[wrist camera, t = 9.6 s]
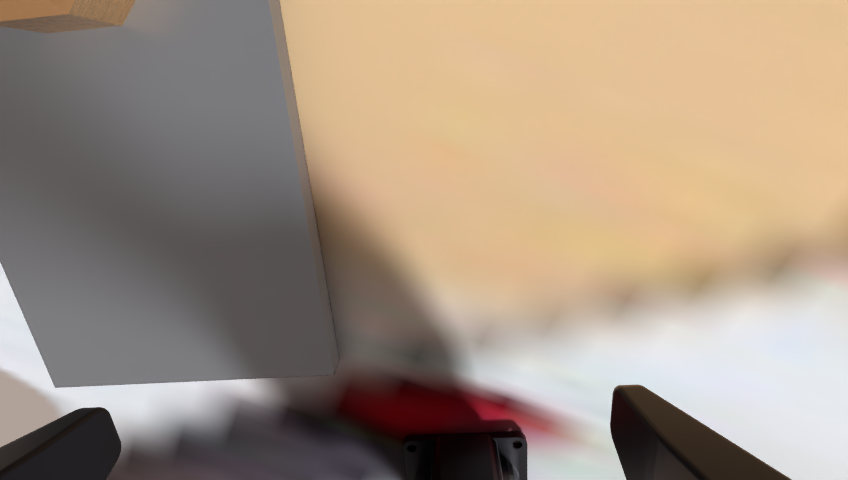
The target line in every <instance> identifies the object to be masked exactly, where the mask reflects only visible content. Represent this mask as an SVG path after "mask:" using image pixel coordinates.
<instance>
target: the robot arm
mask: <svg viewBox="0 0 848 480" xmlns="http://www.w3.org/2000/svg"><path fill="white" fill-rule="evenodd" d="M610 427H611V435H612V439H613V442H614V445H615V448H616V451H617V453H618V456H619V459H620V462H621V465H622V468H623V471H624V474H625V477H626V480H791V479H790V478H788V477H787V476H785V475H783V474H782V473H780V472H779V471H777V470H776V469H774V468H772V467H771V466H769V465H768V464H766V463H764V462H763V461H761V460H760V459H758V458H756V457H755V456H753V455H752V454H750V453H748V452H747V451H745V450H744V449H742V448H741V447H739V446H737V445H736V444H734V443H733V442H731V441H729V440H728V439H726V438H725V437H723V436H721V435H720V434H718V433H717V432H715V431H713V430H712V429H710V428H709V427H707V426H706V425H704V424H702V423H701V422H699V421H698V420H696V419H694V418H693V417H691V416H690V415H688V414H686V413H685V412H683V411H682V410H680V409H679V408H677V407H675V406H674V405H672V404H671V403H669V402H667V401H666V400H664V399H663V398H661V397H659V396H658V395H656V394H655V393H653V392H651V391H650V390H648V389H647V388H645V387H643V386H641V385H619V386H617V387H616V388H615V389H614V391H613V399H612V411H611V422H610ZM515 441H520V442H518V443H514V442H515ZM409 445H414V446H409ZM120 452H121V441H120V438H119V436H118V433H117V431H116V428H115V426H114V423H113V421H112V418H111V415H110V413H109V412H108V411H107V410H106V409H105V408H101V407H96V408H81V409H78V410H75V411H73V412H71V413H69V414H67V415H65V416H63V417H61V418H59V419H57V420H55V421H53V422H51V423H49V424H47V425H45V426H43V427H41V428H39V429H37V430H35V431H33V432H31V433H29V434H27V435H25V436H23V437H21V438H19V439H17V440H15V441H12V442H10V443H9V444H7V445H4V446H2V447H1V448H0V480H107V478H108V476H109V474H110V472H111V470H112V469H113V467H114V465H115V463H116V461H117V460H118V457H119V455H120ZM403 457H404V465H405V474H406V480H527V442H526V438H525V435H524V434H523V433H521V432H516V431H515V432H488V433H461V434H434V435H411V436H407V437H406V438H405V439H404V440H403Z"/></svg>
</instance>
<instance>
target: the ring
mask: <svg viewBox="0 0 848 480" xmlns="http://www.w3.org/2000/svg"><path fill="white" fill-rule="evenodd" d="M135 1H136V0H0V26H1V27H8V28H14V29H21V30H28V31H34V32H41V33H57V32H66V31H76V30H85V29H95V28H104V27H114V26H123V24H124V22H125V20H126V18H127V16H128V14H129V12H130V10H131V8H132V7H133V5H134V3H135Z"/></svg>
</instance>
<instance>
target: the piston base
mask: <svg viewBox="0 0 848 480" xmlns="http://www.w3.org/2000/svg"><path fill="white" fill-rule="evenodd" d="M0 262H1V264H2V267H3V269H4V271H5V274H6V276H7V278H8V281H9V283H10V285H11V287H12V290H13V292H14V294H15V297H16V299H17V301H18V303H19V306H20V308H21V310H22V313H23V315H24V317H25V320H26V322H27V324H28V326H29V329H30V331H31V333H32V336H33V338H34V340H35V343H36V345H37V347H38V349H39V352H40V354H41V356H42V359H43V361H44V363H45V365H46V368H47V370H48V372H49V375H50V377H51V379H52V382H53V384H54V386H55V388H59V387H81V386H103V385H125V384H147V383H169V382H191V381H212V380H234V379H256V378H278V377H300V376H322V375H334V373H335V371H336V368H337V365H338V362H339V354H338V348H337V342H336V336H335V330H334V324H333V318H332V313H331V307H330V301H329V295H328V289H327V283H326V277H325V271H324V265H323V259H322V253H321V247H320V241H319V235H318V229H317V223H316V217H315V211H314V205H313V199H312V193H311V187H310V181H309V175H308V169H307V163H306V157H305V151H304V145H303V139H302V133H301V127H300V121H299V115H298V109H297V103H296V97H295V91H294V85H293V79H292V73H291V67H290V61H289V55H288V49H287V43H286V37H285V31H284V25H283V19H282V13H281V7H280V1H279V0H136V1H135V3H134V5H133V7H132V8H131V10H130V12H129V14H128V16H127V18H126V20H125V22H124V24H123V26H114V27H104V28H95V29H85V30H76V31H66V32H57V33H41V32H34V31H28V30H21V29H14V28H8V27H1V26H0Z"/></svg>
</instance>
